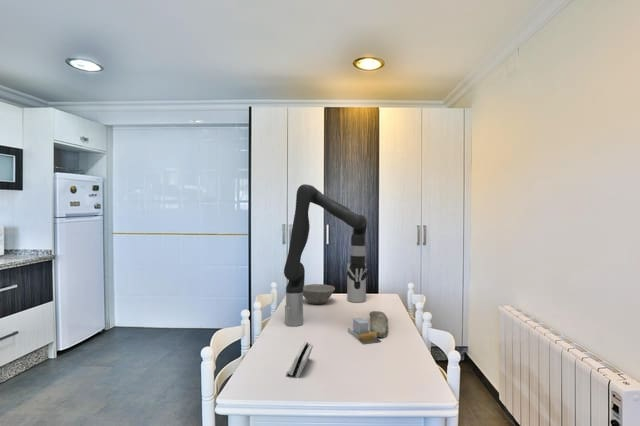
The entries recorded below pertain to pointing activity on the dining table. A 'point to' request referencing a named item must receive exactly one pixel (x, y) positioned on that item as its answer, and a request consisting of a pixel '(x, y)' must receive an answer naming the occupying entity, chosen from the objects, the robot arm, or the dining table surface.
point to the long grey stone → (379, 323)
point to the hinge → (300, 360)
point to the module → (360, 325)
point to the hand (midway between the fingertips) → (357, 288)
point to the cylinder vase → (353, 293)
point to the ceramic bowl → (317, 293)
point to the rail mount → (365, 337)
